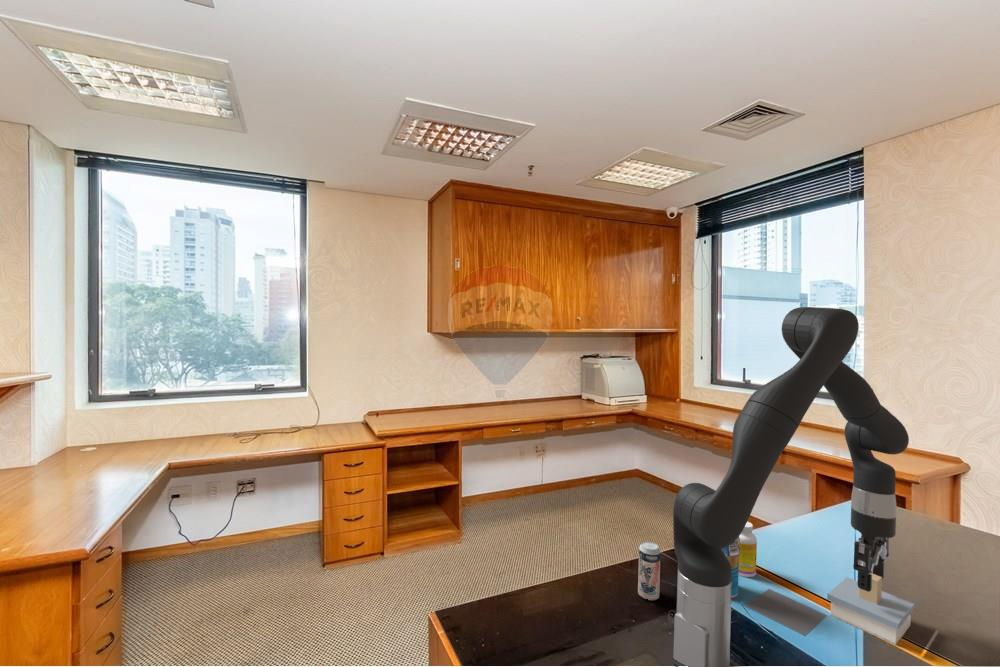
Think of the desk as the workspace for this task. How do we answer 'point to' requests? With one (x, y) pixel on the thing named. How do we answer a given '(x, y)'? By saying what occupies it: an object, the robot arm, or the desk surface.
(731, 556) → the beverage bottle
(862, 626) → the white rectangular open box
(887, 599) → the lid
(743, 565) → the supplement bottle
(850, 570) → the desk surface
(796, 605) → the mat
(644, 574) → the beer can
